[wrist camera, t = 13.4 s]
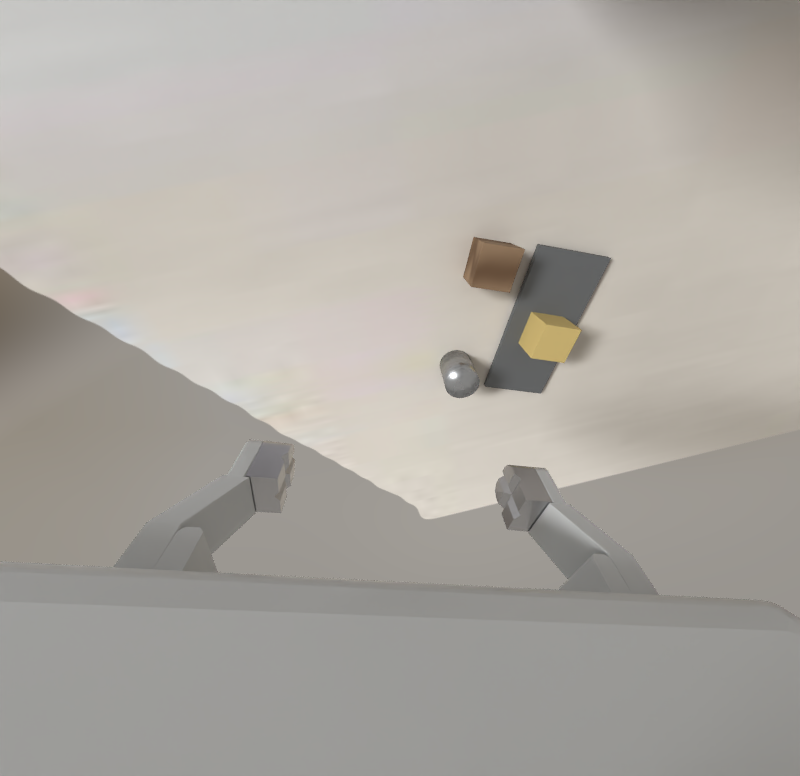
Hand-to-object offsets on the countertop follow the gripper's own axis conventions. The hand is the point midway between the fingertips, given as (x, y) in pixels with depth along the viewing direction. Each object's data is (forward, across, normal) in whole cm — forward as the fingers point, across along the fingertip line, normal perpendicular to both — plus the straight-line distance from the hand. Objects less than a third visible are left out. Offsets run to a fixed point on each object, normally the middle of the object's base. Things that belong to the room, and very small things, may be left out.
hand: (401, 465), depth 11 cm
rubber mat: (+34, -23, +5) cm, 41 cm away
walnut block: (+34, -12, -3) cm, 36 cm away
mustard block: (+33, -23, +5) cm, 41 cm away
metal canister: (+34, -12, +13) cm, 38 cm away
